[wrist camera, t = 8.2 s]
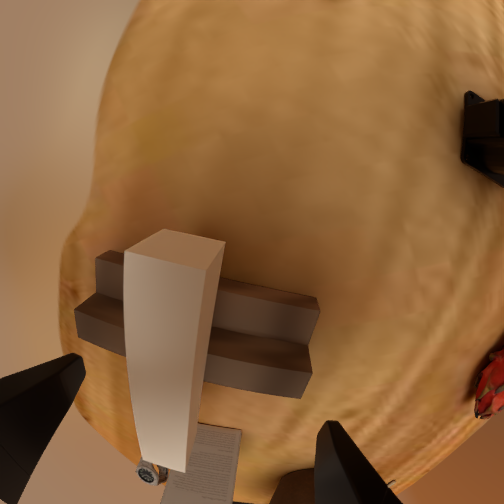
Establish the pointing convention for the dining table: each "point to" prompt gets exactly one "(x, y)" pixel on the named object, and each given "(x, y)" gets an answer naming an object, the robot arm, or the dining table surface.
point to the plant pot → (295, 488)
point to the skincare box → (207, 469)
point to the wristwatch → (151, 473)
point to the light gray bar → (169, 338)
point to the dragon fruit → (490, 387)
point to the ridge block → (221, 331)
